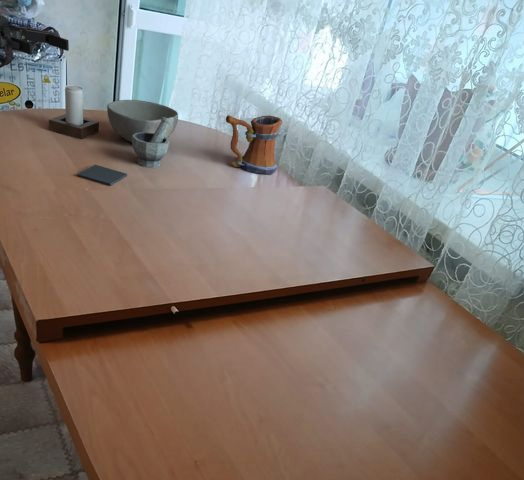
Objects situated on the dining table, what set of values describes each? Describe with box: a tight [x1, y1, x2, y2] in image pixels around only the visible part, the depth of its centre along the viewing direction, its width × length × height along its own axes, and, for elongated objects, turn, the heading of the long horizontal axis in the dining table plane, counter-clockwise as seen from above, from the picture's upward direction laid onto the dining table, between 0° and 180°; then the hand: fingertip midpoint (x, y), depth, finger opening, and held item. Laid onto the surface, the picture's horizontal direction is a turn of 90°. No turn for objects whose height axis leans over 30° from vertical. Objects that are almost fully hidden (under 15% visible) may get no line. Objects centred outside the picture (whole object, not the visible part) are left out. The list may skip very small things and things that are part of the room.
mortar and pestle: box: [131, 117, 171, 169], centre depth 147 cm, size 11×9×12 cm
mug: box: [225, 114, 283, 175], centre depth 159 cm, size 18×12×15 cm, turn 113°
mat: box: [76, 164, 128, 187], centre depth 137 cm, size 9×9×1 cm
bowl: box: [106, 99, 179, 143], centre depth 161 cm, size 20×20×10 cm
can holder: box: [48, 113, 100, 140], centre depth 159 cm, size 10×10×3 cm
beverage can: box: [64, 84, 84, 126], centre depth 157 cm, size 5×5×12 cm
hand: (50, 47), depth 150 cm, fingers open, 13 cm apart
